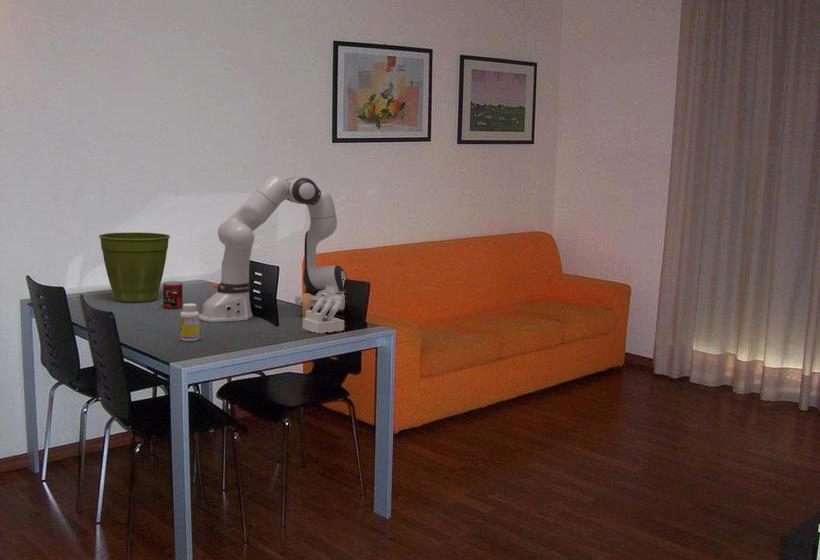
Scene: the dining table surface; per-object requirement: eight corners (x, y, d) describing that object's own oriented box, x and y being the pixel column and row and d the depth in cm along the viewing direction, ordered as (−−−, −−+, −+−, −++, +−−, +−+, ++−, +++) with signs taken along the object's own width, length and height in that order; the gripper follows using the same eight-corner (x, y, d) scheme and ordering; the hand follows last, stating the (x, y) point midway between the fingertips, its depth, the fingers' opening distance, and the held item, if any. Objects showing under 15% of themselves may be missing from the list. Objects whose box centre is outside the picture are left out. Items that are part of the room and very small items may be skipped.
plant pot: (181, 302, 378) (180, 237, 373) (114, 307, 359) (113, 240, 355) (154, 291, 400) (153, 231, 396) (90, 296, 382) (89, 232, 377)
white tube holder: (318, 333, 324) (318, 300, 322) (302, 328, 332) (303, 296, 330) (347, 330, 333) (348, 297, 331) (331, 324, 341) (332, 293, 339)
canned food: (159, 308, 362) (159, 282, 360) (171, 305, 369) (171, 280, 367) (174, 310, 359) (174, 284, 357) (186, 307, 366) (186, 282, 364)
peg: (305, 324, 340) (305, 294, 338) (300, 323, 342) (301, 293, 341) (311, 323, 342) (312, 294, 340) (307, 322, 344) (308, 293, 343)
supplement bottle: (181, 337, 309) (181, 302, 307) (200, 337, 310) (200, 303, 308) (178, 341, 303) (178, 305, 301) (197, 341, 303) (197, 306, 301)
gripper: (304, 290, 361) (288, 294, 348) (348, 294, 354) (333, 299, 341) (303, 304, 362) (288, 309, 349) (347, 309, 355) (333, 315, 342)
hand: (311, 304), depth 345 cm, fingers open, 8 cm apart
